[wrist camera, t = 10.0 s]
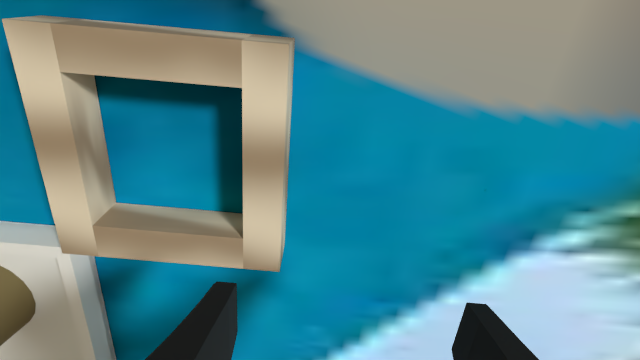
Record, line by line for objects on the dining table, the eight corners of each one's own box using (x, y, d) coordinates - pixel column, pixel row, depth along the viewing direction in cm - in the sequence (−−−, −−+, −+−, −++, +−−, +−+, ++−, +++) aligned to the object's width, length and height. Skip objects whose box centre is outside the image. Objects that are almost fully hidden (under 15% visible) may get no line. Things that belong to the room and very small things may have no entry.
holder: (284, 245, 24) (279, 271, 21) (88, 228, 24) (62, 253, 21) (294, 38, 18) (289, 44, 16) (42, 15, 18) (1, 18, 16)
